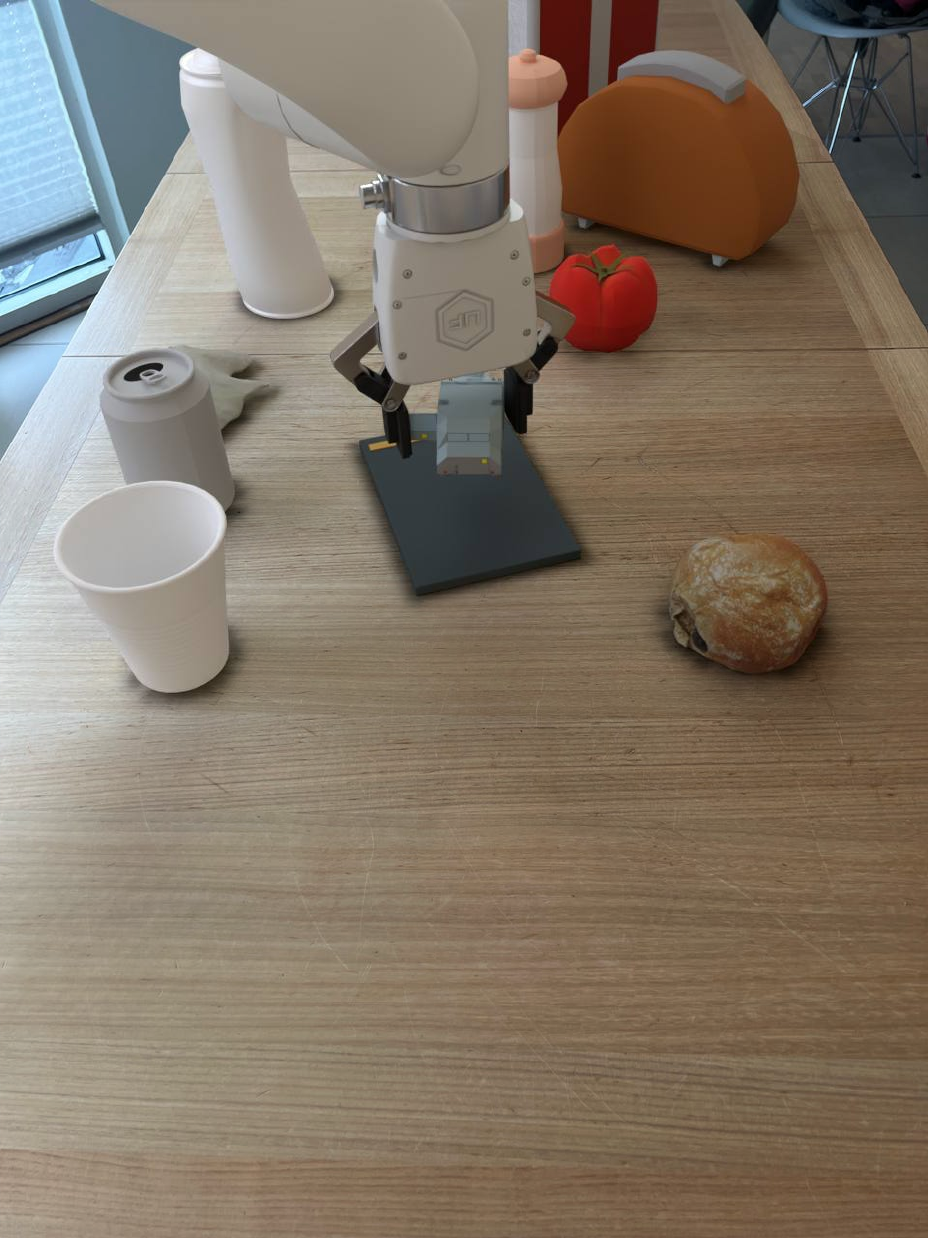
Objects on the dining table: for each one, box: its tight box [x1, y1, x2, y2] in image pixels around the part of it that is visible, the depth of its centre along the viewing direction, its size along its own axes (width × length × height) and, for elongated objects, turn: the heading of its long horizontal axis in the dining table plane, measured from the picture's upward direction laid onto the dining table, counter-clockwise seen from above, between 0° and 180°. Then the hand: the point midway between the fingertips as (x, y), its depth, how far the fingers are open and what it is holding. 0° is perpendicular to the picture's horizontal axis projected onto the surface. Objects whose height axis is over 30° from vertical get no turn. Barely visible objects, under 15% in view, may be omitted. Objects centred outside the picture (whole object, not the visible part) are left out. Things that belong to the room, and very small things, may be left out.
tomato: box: [548, 244, 659, 354], centre depth 93 cm, size 9×9×8 cm
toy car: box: [408, 372, 506, 477], centre depth 75 cm, size 6×10×5 cm, turn 177°
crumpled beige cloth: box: [167, 344, 271, 431], centre depth 89 cm, size 12×3×15 cm
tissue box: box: [508, 0, 663, 140], centre depth 117 cm, size 16×18×27 cm
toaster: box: [557, 49, 801, 267], centre depth 104 cm, size 23×9×17 cm, turn 53°
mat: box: [358, 416, 582, 596], centre depth 80 cm, size 12×18×1 cm, turn 16°
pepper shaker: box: [509, 49, 567, 274], centre depth 100 cm, size 7×7×19 cm
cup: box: [52, 481, 230, 694], centre depth 66 cm, size 10×10×11 cm
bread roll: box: [668, 532, 829, 675], centre depth 68 cm, size 10×10×8 cm
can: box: [99, 347, 236, 513], centre depth 77 cm, size 8×8×12 cm
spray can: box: [178, 47, 335, 320], centre depth 95 cm, size 12×11×25 cm
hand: (459, 434), depth 76 cm, fingers closed on toy car, 7 cm apart
